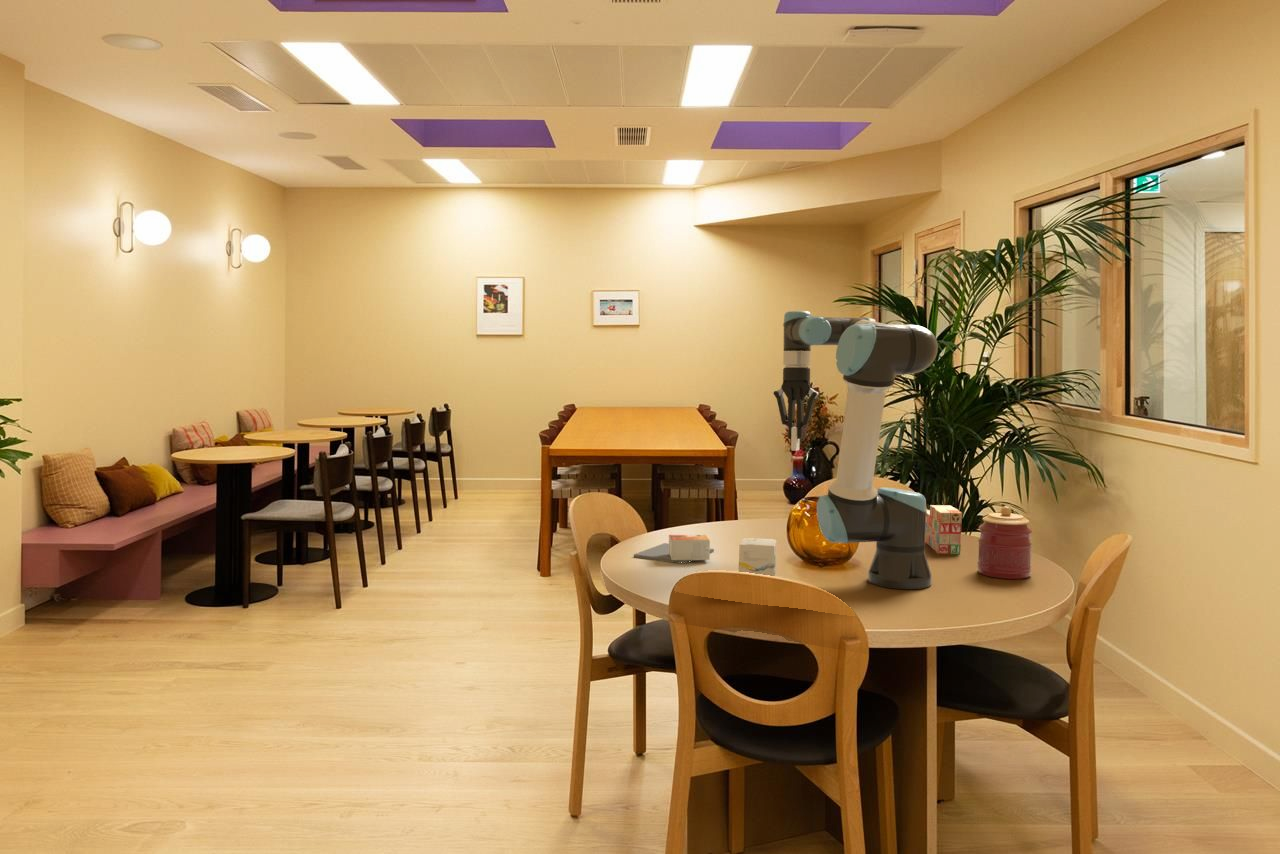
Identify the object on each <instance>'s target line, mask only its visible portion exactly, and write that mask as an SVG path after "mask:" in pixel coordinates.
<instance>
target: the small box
mask: <svg viewBox="0 0 1280 854" xmlns="http://www.w3.org/2000/svg"><path fill="white" fill-rule="evenodd" d="M710 543H711V540H710V539H709V537H708V536H707V534H668V544H669V555H670V557H671V560H693V561H710V557H711V555H710V554H711V553H710V549H711V548H710V547H711V545H710Z"/></svg>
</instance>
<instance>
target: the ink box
mask: <svg viewBox="0 0 1280 854" xmlns="http://www.w3.org/2000/svg"><path fill="white" fill-rule="evenodd" d="M738 552H739V553H738V573H739V572H749V573H755V574H763V575H770V576H776V575H777V569H776V568H777V539H776V538H775V539H772V538H757V537H749V538H748V537H747V538H745V537H743V538H742V539H741V541H740V543H739V551H738Z"/></svg>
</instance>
